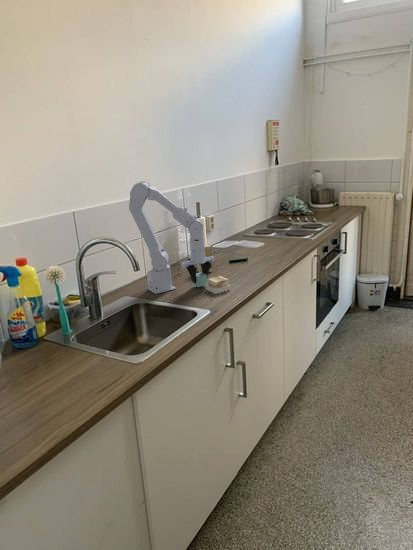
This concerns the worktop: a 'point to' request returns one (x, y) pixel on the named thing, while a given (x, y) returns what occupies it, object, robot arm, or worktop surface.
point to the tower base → (217, 289)
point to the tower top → (218, 282)
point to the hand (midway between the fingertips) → (199, 281)
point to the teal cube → (200, 279)
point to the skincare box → (207, 254)
